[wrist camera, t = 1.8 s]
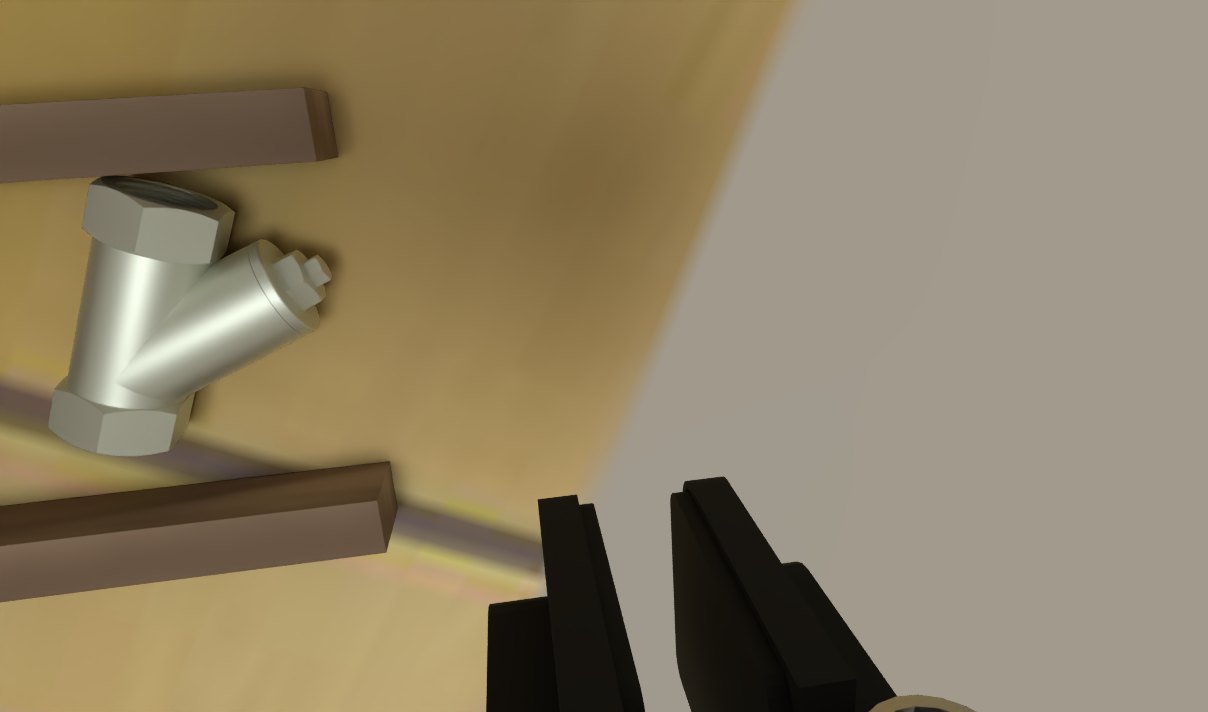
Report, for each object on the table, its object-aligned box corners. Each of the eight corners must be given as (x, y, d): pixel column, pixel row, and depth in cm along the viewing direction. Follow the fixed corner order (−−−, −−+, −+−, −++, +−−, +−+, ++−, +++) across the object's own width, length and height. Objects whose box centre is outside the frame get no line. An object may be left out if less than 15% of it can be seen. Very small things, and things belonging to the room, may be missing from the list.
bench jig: (-368, 95, 21) (-773, 80, 14) (321, 58, 23) (249, 30, 16) (-142, 600, 26) (-360, 762, 19) (401, 532, 28) (371, 656, 21)
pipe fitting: (347, 235, 25) (129, 170, 23) (333, 256, 22) (74, 182, 20) (293, 439, 27) (88, 396, 25) (272, 490, 24) (30, 445, 21)
